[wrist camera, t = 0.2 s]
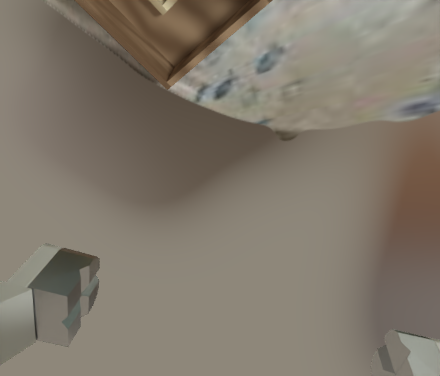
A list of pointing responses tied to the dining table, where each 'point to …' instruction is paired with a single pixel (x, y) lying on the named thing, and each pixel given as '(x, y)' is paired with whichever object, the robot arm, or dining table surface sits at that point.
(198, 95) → the dining table surface
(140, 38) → the walled box
